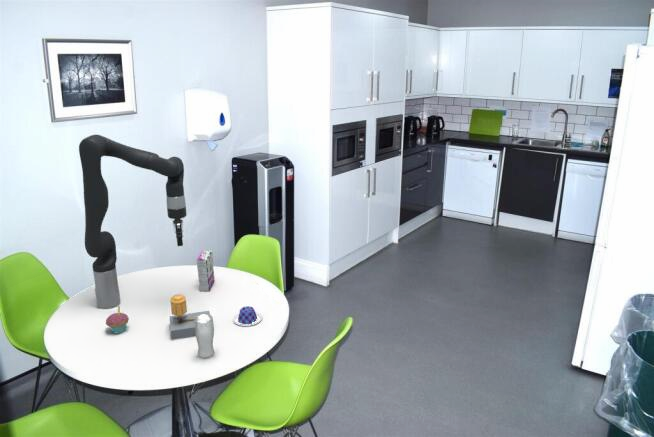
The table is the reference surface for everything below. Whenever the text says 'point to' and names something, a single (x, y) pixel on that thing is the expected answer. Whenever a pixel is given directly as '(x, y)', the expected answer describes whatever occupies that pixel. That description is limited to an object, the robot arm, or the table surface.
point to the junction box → (184, 325)
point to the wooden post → (180, 319)
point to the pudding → (247, 316)
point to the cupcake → (117, 321)
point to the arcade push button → (178, 305)
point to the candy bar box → (205, 270)
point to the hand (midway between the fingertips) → (179, 242)
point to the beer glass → (204, 335)
